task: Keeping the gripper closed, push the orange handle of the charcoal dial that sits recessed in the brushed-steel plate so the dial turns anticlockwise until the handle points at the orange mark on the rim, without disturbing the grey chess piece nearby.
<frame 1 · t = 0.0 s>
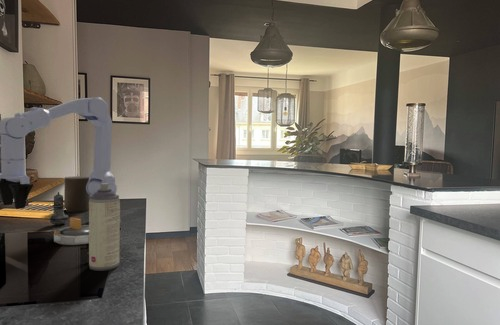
hand: (14, 206, 103), 10 cm above the counter, tool pointing down, fingers open, 7 cm apart
grey chess piece: (58, 227, 120), on the counter
pillar candle: (77, 210, 147), on the counter
dial: (80, 228, 106), point 4 cm above the counter, hinge at 0.0°
dial plate: (81, 240, 106), on the counter
aerosol can: (104, 266, 87), on the counter
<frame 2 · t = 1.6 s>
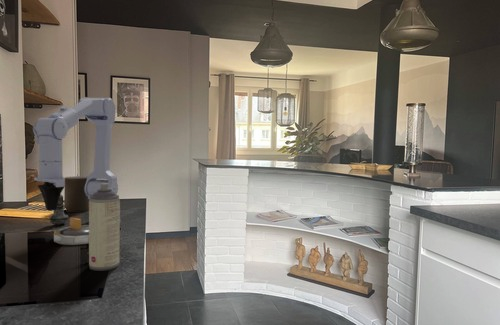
hand: (51, 209, 100), 10 cm above the counter, tool pointing down, fingers closed
nothing on the counter moved.
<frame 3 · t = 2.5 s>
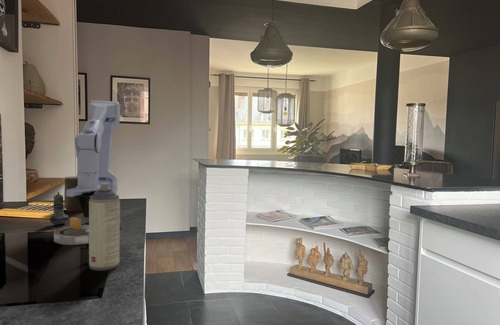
hand: (88, 216, 109), 6 cm above the counter, tool pointing down, fingers closed
nothing on the counter moved.
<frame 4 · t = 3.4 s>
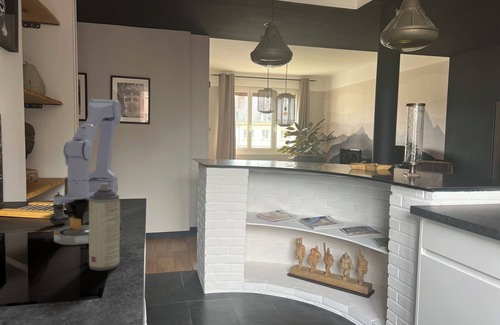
hand: (78, 224, 108), 4 cm above the counter, tool pointing down, fingers closed, pressing on dial
dial: (80, 228, 106), point 4 cm above the counter, hinge at 0.3°, touching gripper
everything else where it was.
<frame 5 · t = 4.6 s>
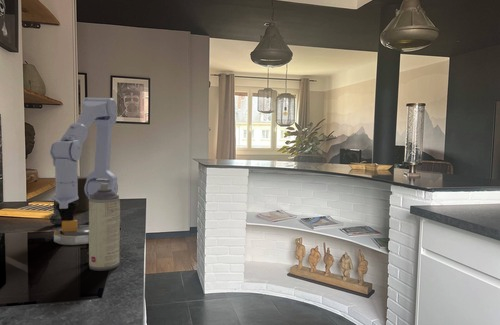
hand: (67, 227, 105), 4 cm above the counter, tool pointing down, fingers closed, pressing on dial
dial: (80, 228, 105), point 4 cm above the counter, hinge at 54.7°, touching gripper
everything else where it was.
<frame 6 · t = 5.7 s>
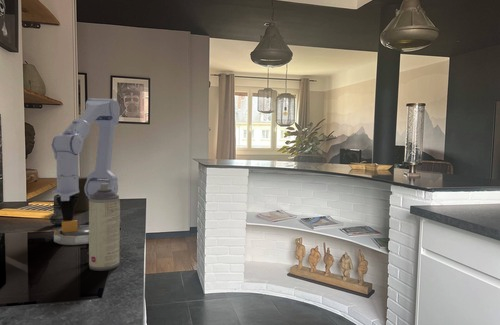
hand: (68, 220, 106), 6 cm above the counter, tool pointing down, fingers closed
dial: (80, 228, 105), point 4 cm above the counter, hinge at 66.1°
everything else where it was.
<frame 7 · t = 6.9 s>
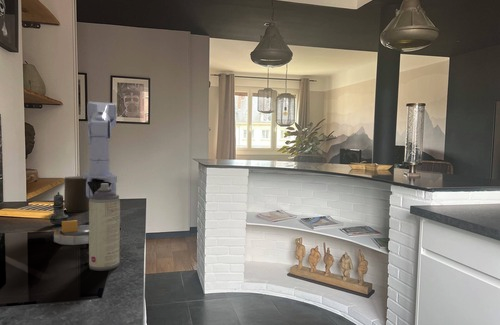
hand: (99, 203, 110), 10 cm above the counter, tool pointing down, fingers closed
nothing on the counter moved.
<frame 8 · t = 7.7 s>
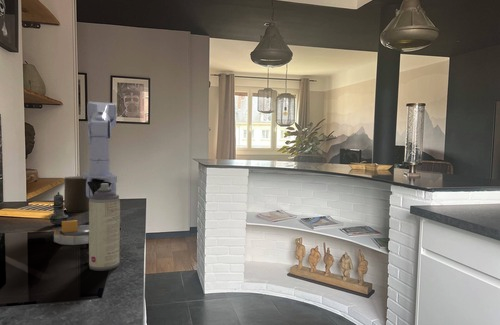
hand: (99, 203, 110), 10 cm above the counter, tool pointing down, fingers closed
nothing on the counter moved.
at the end: dial at +66° (first picture: +0°); grey chess piece moved 0.2 cm from its start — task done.
